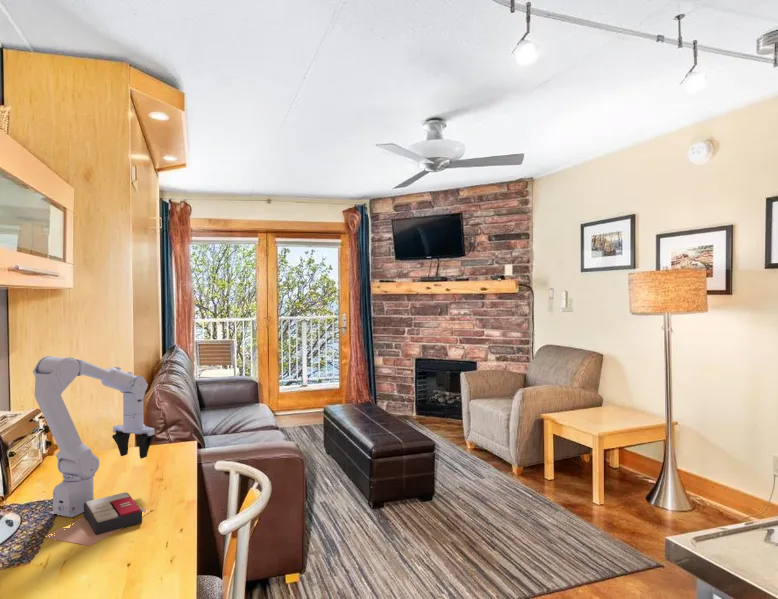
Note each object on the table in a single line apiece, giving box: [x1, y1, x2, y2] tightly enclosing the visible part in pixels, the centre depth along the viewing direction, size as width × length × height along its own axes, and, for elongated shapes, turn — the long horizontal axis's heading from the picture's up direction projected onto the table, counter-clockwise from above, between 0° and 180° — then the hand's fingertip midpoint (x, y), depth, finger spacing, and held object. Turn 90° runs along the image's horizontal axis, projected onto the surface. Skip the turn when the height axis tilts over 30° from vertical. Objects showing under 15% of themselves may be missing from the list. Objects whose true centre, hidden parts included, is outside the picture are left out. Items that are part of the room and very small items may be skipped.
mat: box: [45, 507, 150, 547], centre depth 133 cm, size 21×15×1 cm
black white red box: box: [83, 491, 143, 535], centre depth 135 cm, size 11×4×15 cm
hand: (133, 456), depth 158 cm, fingers open, 7 cm apart
